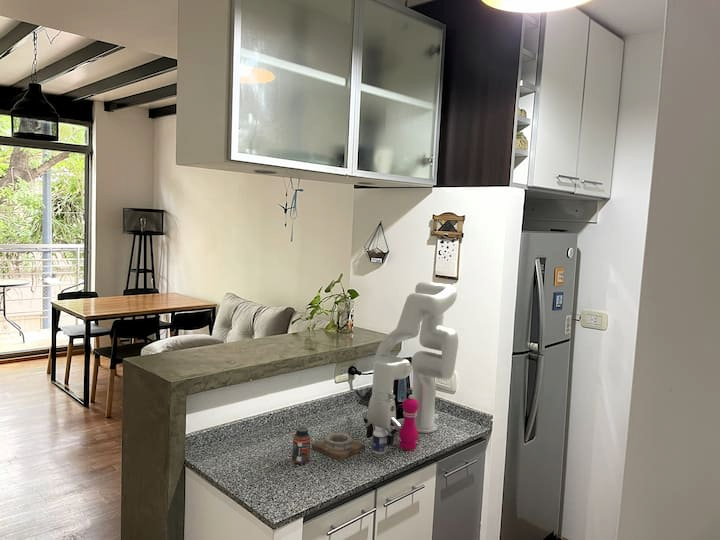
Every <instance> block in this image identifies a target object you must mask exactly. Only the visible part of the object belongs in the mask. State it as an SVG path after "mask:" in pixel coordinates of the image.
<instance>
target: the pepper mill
mask: <svg viewBox="0 0 720 540" xmlns="http://www.w3.org/2000/svg"><path fill="white" fill-rule="evenodd" d="M401 405H402V406H401V408H402V409H403V411H402V414H403V418H404V419H403V423H402V425H401V427H400V429H399V431H398V437H399V439H400V440H399V448H400V449H403V450H405V451H413V450H416V448H417V440H418V439H419V432H418V431H417V428H416V426H415V417H416V416H417V415H416V414H417V412H416V411H417V409H418V402H417V401H416V400H415V399H413V395H412V394H409V395H408V398H406V399H404V400H403V402H402V404H401Z"/></svg>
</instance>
